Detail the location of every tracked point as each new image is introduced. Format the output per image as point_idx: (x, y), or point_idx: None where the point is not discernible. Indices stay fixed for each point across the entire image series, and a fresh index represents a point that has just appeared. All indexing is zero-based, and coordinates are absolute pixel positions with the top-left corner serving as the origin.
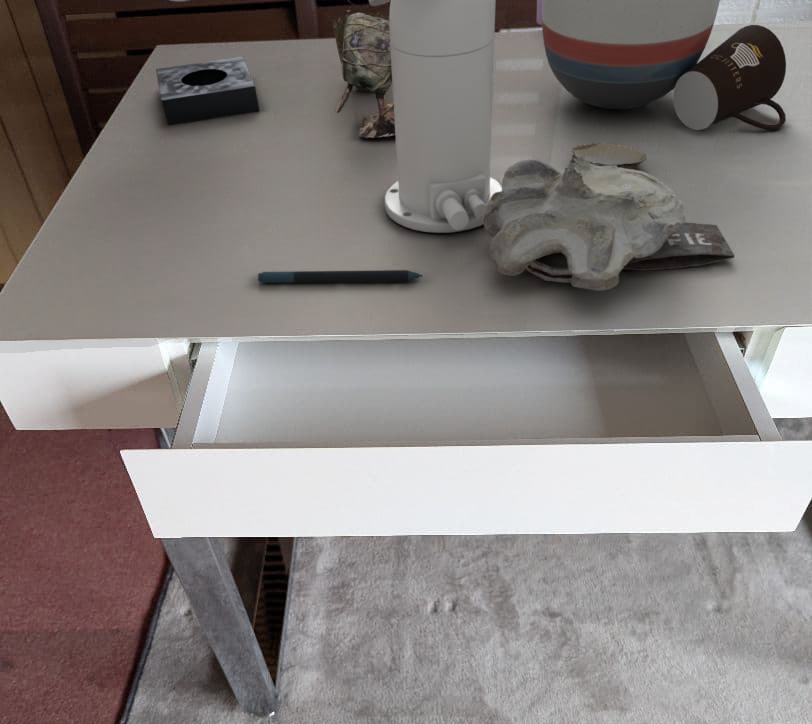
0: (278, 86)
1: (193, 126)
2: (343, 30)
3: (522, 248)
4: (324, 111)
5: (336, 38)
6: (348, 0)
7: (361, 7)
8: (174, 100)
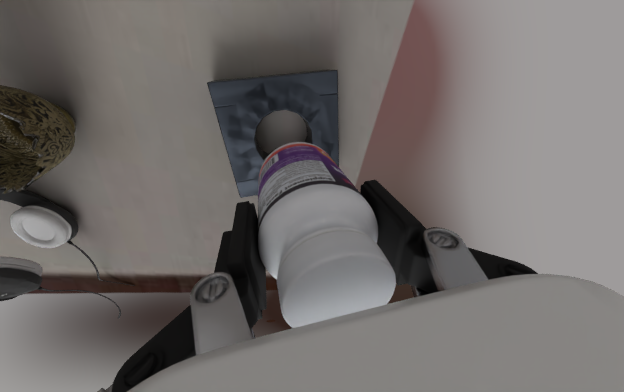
0: (200, 159)
1: (298, 54)
2: (43, 169)
3: None
4: (104, 44)
5: (35, 125)
6: (116, 305)
7: (95, 293)
8: (320, 71)
